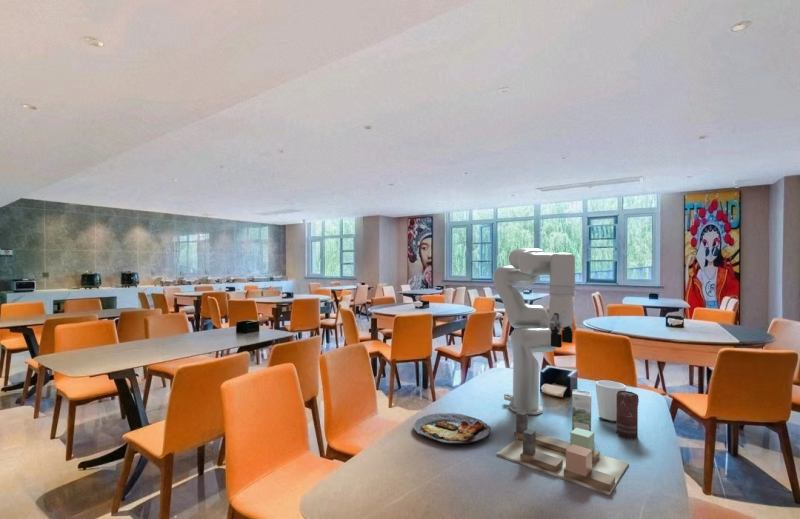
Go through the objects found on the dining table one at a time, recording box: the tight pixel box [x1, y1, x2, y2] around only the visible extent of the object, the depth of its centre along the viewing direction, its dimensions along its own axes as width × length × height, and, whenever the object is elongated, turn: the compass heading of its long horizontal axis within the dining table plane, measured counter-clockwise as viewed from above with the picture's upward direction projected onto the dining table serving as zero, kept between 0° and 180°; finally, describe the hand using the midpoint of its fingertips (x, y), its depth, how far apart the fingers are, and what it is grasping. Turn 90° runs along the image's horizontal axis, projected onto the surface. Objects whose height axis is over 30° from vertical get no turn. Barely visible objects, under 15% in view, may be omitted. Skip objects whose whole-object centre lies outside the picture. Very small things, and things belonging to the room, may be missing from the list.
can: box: [615, 390, 640, 440], centre depth 132 cm, size 6×6×14 cm
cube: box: [570, 428, 595, 451], centre depth 116 cm, size 5×5×5 cm
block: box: [566, 444, 592, 476], centre depth 105 cm, size 5×5×5 cm
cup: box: [595, 379, 627, 423], centre depth 146 cm, size 10×10×13 cm
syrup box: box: [571, 388, 592, 432], centre depth 131 cm, size 6×6×14 cm
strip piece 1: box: [520, 428, 563, 472], centre depth 112 cm, size 10×5×8 cm, turn 49°
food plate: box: [413, 412, 492, 445], centre depth 133 cm, size 25×23×4 cm
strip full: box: [513, 411, 601, 463], centre depth 122 cm, size 24×5×8 cm, turn 48°
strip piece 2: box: [564, 467, 615, 492], centre depth 103 cm, size 11×5×2 cm, turn 49°
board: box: [496, 438, 630, 496], centre depth 115 cm, size 30×20×1 cm, turn 49°
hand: (561, 344), depth 129 cm, fingers open, 9 cm apart
